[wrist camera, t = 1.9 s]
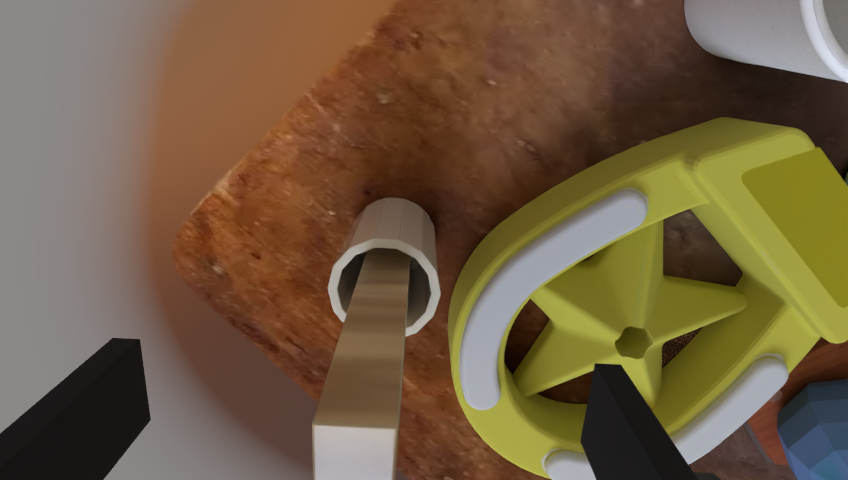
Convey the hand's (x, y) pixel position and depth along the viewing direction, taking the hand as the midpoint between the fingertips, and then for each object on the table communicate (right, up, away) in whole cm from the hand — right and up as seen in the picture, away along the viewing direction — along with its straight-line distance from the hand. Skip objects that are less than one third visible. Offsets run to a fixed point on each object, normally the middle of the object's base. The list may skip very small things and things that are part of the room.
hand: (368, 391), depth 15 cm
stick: (0, +4, +12) cm, 13 cm away
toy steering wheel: (+13, +1, +14) cm, 19 cm away
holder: (0, +5, +13) cm, 14 cm away
